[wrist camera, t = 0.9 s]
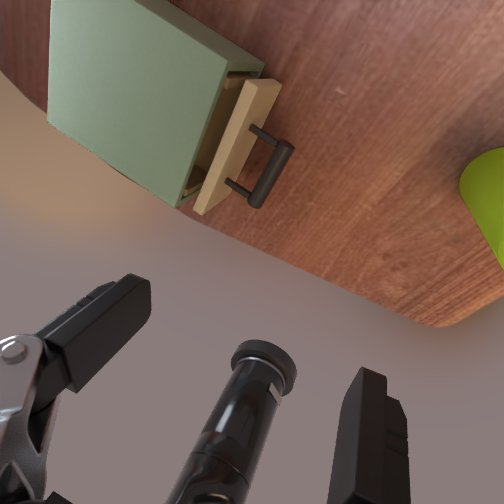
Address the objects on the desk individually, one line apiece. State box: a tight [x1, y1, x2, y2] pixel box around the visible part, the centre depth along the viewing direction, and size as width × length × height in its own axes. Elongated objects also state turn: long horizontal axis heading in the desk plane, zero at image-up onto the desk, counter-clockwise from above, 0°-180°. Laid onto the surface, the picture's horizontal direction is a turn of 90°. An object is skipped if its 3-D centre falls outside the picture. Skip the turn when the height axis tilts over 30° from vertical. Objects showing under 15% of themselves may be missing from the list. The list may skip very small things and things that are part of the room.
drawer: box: [183, 71, 295, 215], centre depth 31 cm, size 20×13×7 cm, turn 63°
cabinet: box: [47, 0, 265, 208], centre depth 31 cm, size 17×15×9 cm
